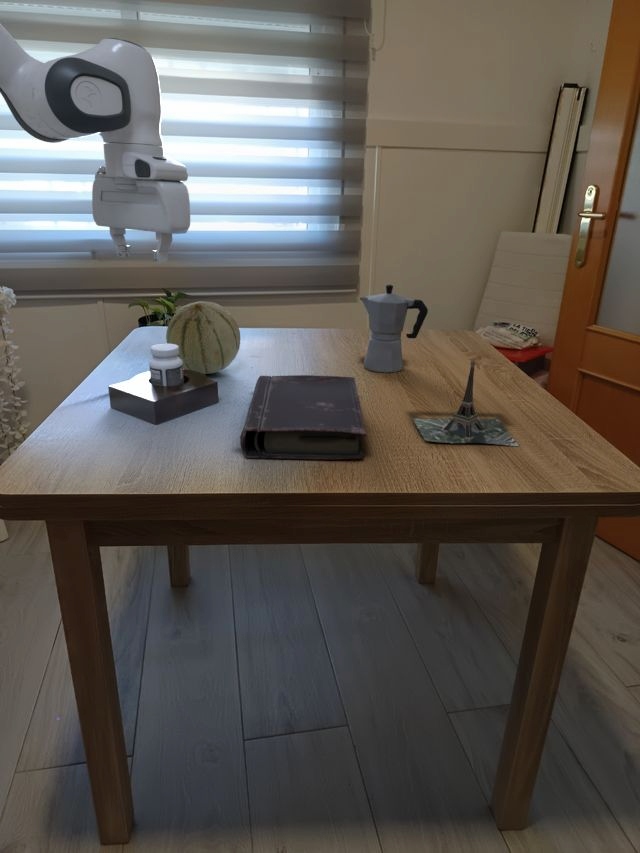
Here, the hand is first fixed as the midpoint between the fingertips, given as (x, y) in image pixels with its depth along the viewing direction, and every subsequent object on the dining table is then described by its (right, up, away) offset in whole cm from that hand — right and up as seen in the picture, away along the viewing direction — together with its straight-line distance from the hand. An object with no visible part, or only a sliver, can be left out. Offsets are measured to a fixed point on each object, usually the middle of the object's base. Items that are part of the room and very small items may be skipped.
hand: (141, 259), depth 94 cm
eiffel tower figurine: (+53, -29, 0) cm, 60 cm away
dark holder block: (+2, -23, +8) cm, 25 cm away
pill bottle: (+2, -23, +10) cm, 25 cm away
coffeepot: (+44, -15, +33) cm, 57 cm away
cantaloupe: (+5, -16, +26) cm, 31 cm away
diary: (+27, -28, 0) cm, 39 cm away
